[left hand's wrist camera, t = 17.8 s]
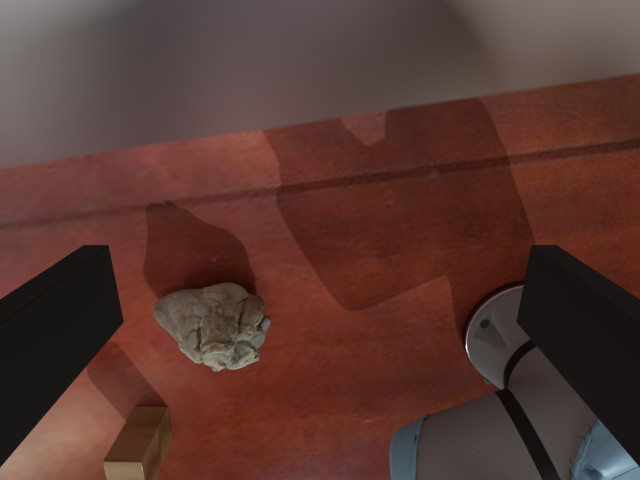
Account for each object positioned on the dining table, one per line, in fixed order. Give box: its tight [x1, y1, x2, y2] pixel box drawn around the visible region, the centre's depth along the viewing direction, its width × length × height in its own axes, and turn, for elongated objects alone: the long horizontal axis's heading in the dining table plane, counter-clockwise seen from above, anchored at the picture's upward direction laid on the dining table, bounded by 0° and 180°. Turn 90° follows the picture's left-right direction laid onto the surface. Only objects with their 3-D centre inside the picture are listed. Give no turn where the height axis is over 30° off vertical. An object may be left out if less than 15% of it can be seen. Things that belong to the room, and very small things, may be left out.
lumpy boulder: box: [153, 282, 271, 371], centre depth 49 cm, size 11×11×15 cm
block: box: [103, 406, 173, 480], centre depth 56 cm, size 6×5×10 cm
